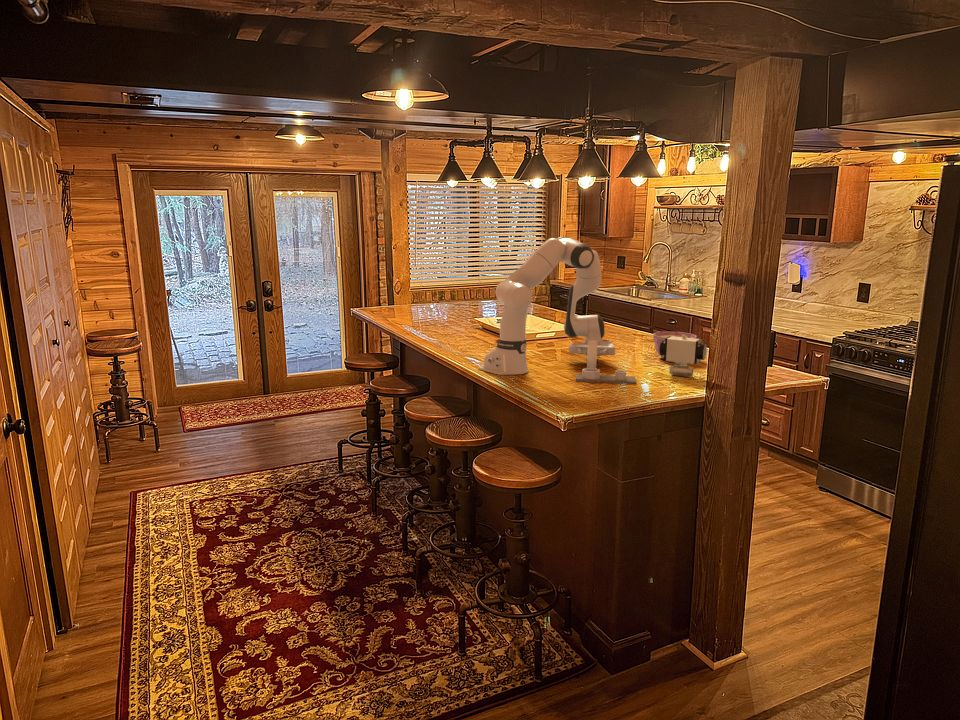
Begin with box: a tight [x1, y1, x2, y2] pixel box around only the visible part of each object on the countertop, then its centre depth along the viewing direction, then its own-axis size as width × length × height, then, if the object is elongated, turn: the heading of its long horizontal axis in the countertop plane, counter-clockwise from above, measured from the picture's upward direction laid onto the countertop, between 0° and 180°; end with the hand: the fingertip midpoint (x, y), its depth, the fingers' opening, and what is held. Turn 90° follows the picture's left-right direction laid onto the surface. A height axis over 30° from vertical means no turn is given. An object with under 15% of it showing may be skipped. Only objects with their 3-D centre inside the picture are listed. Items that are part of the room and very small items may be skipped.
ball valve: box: [659, 335, 708, 378], centre depth 280 cm, size 18×8×18 cm, turn 59°
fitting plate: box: [575, 367, 637, 385], centre depth 273 cm, size 24×9×4 cm, turn 79°
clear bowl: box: [652, 331, 698, 358], centre depth 314 cm, size 20×20×12 cm
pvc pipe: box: [586, 340, 598, 369], centre depth 285 cm, size 4×4×14 cm
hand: (591, 352), depth 290 cm, fingers open, 8 cm apart
